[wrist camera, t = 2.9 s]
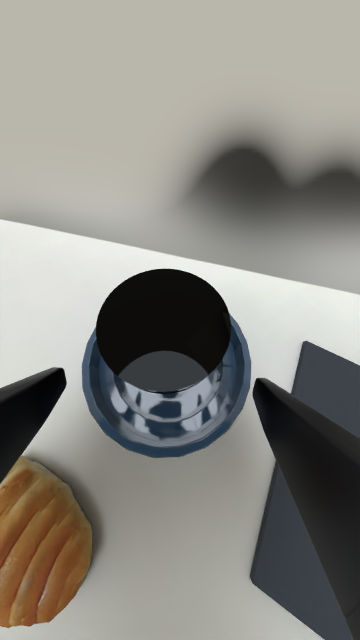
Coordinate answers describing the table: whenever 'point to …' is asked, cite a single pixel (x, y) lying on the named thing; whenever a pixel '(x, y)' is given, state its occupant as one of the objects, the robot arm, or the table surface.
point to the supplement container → (163, 331)
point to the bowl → (168, 404)
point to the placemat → (281, 512)
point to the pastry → (39, 545)
